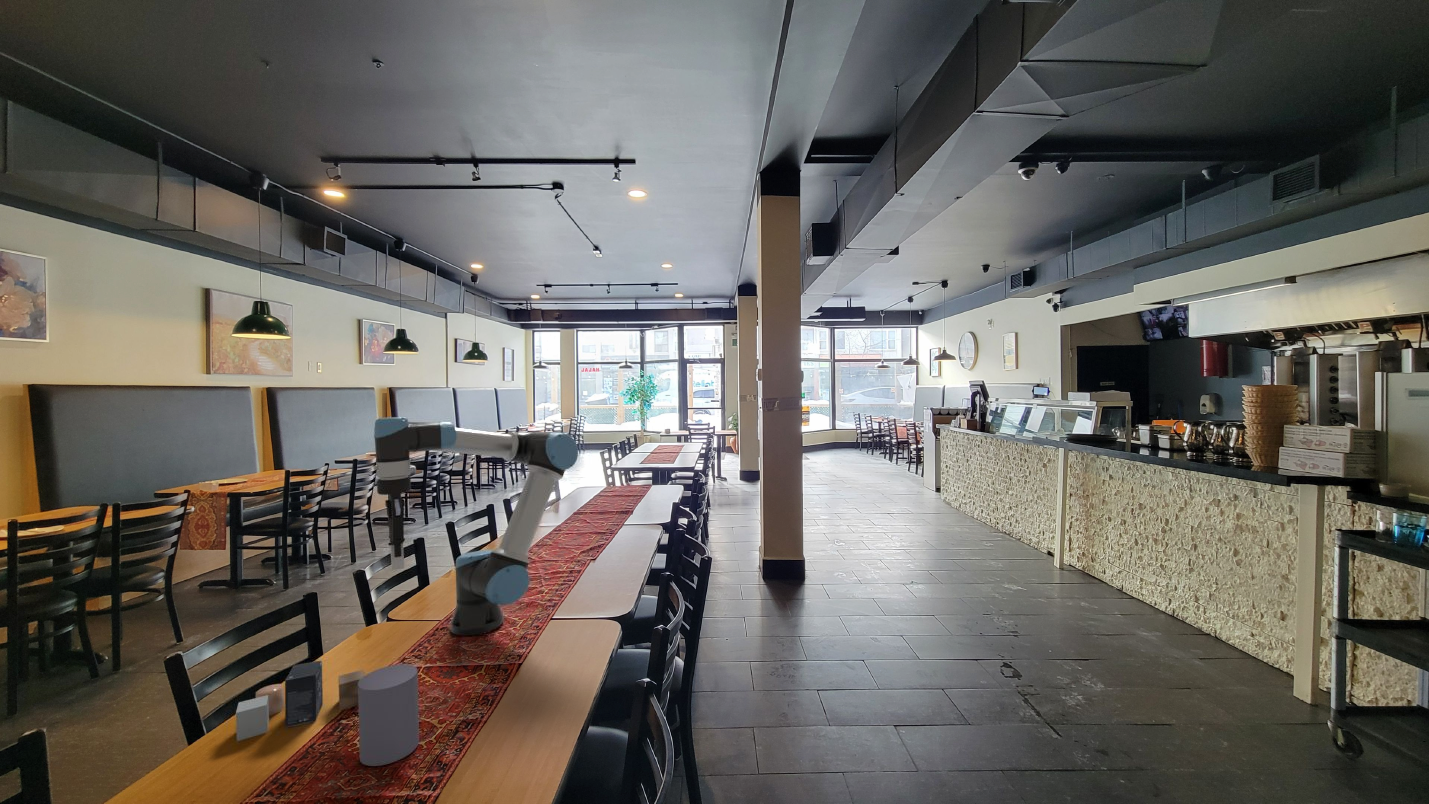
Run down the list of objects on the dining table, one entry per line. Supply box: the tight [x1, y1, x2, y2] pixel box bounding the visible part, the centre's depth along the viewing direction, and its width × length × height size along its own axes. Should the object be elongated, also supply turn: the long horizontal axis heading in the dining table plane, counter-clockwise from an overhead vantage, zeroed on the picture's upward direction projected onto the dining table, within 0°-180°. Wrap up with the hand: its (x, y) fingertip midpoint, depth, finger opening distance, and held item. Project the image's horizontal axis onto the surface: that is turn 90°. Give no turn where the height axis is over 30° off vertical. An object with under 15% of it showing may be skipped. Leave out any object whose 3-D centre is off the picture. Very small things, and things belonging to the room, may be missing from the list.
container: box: [358, 663, 420, 767], centre depth 111 cm, size 10×10×15 cm
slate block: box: [235, 695, 270, 742], centre depth 119 cm, size 5×5×6 cm
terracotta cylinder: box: [255, 683, 285, 717], centre depth 126 cm, size 5×5×5 cm
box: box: [284, 660, 324, 728], centre depth 124 cm, size 8×6×11 cm
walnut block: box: [338, 669, 365, 711], centre depth 130 cm, size 5×5×6 cm
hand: (397, 568), depth 142 cm, fingers closed
